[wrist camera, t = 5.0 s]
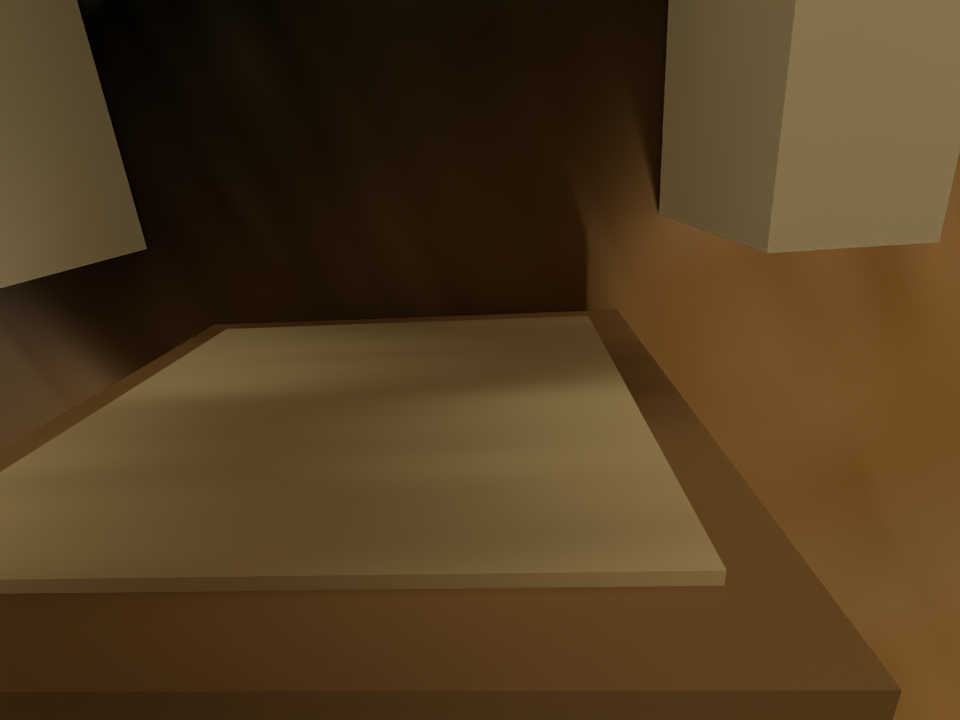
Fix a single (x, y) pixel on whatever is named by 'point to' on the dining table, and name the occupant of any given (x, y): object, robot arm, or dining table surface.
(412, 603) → the tan cardboard carton
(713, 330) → the dining table surface
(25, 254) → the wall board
